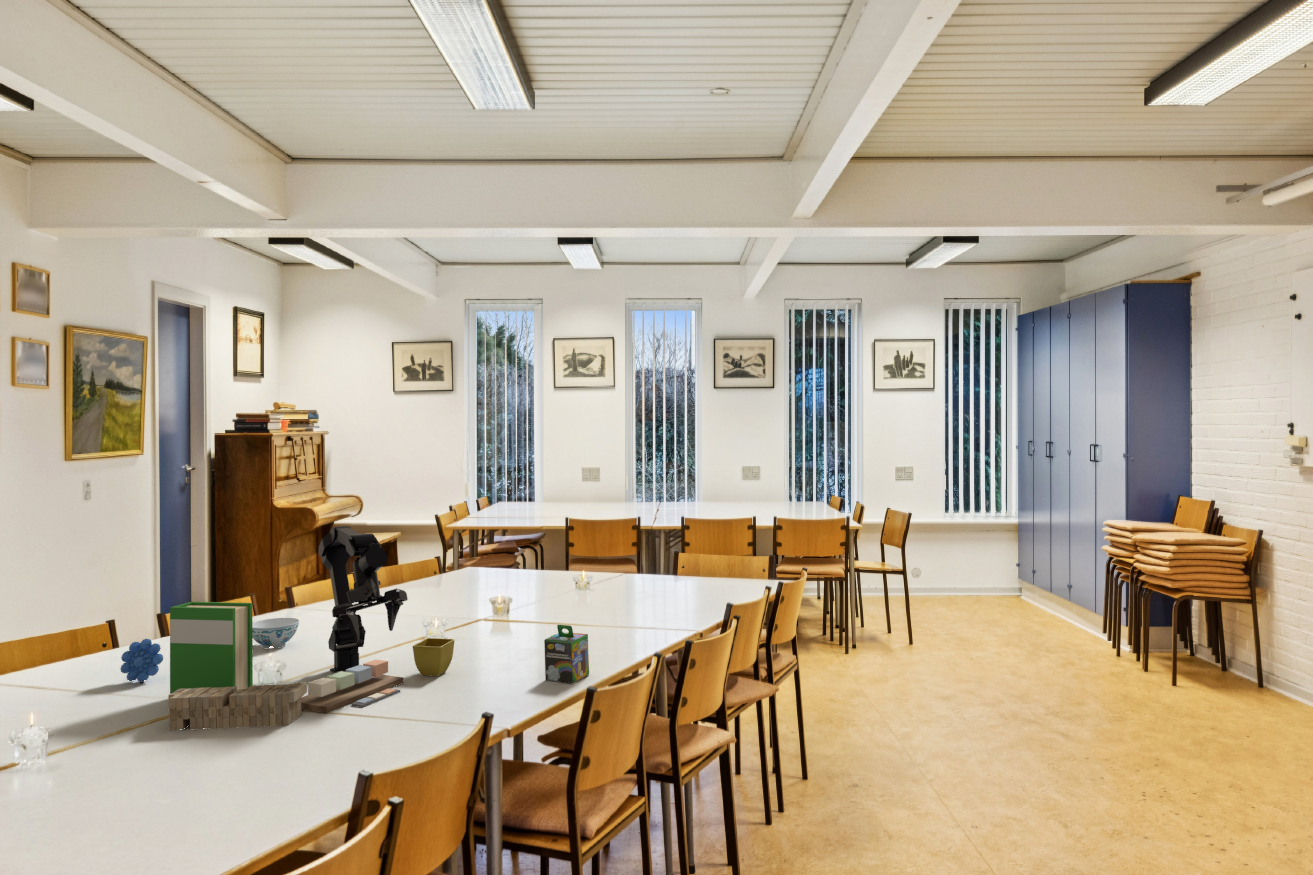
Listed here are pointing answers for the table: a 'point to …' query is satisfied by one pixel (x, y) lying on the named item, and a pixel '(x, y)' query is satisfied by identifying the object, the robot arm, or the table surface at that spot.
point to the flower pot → (433, 655)
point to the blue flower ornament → (141, 660)
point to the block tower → (235, 706)
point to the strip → (375, 697)
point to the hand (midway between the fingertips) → (374, 635)
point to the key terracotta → (377, 667)
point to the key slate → (361, 673)
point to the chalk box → (566, 656)
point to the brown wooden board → (349, 694)
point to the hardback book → (211, 645)
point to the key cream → (321, 687)
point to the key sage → (343, 679)
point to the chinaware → (274, 631)
